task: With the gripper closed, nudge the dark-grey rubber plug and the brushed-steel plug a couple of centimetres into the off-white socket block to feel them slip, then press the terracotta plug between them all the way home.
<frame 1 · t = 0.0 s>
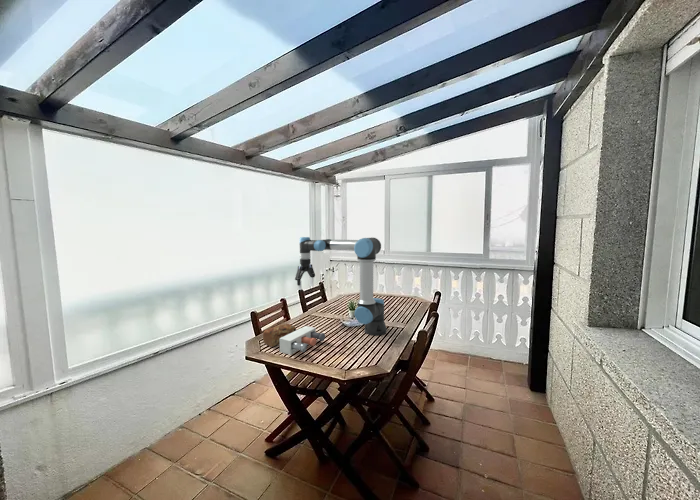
hand: (305, 287, 208), 28 cm above the table, fingers open, 13 cm apart
steel plug: (296, 345, 163), point 4 cm above the table, slide at 0.0 cm
grey plug: (315, 335, 179), point 5 cm above the table, slide at 0.0 cm
socket block: (298, 345, 174), on the table
red plug: (306, 340, 171), point 5 cm above the table, slide at 0.0 cm
bread: (280, 341, 182), on the table
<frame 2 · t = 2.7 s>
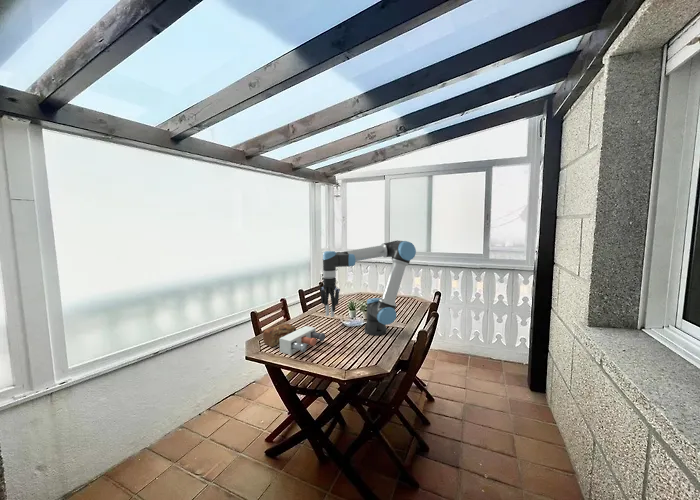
hand: (329, 315, 172), 19 cm above the table, fingers open, 3 cm apart
nothing on the table moved.
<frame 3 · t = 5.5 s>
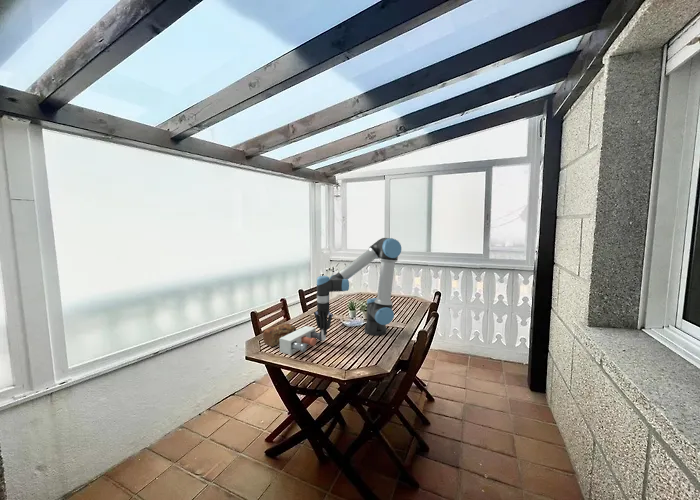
hand: (323, 339, 176), 3 cm above the table, fingers closed
grey plug: (313, 335, 179), point 5 cm above the table, slide at 1.3 cm, touching gripper
everything else where it was.
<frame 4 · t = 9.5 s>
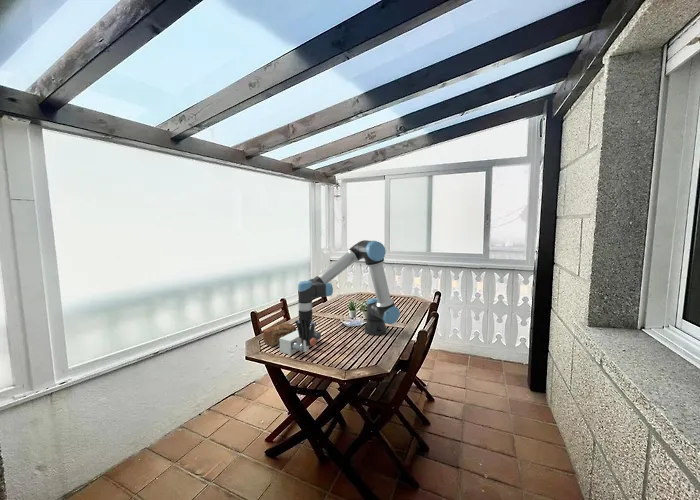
hand: (306, 351, 160), 3 cm above the table, fingers closed
steel plug: (295, 345, 163), point 5 cm above the table, slide at 0.7 cm, touching gripper
grey plug: (311, 334, 180), point 4 cm above the table, slide at 3.1 cm
everything else where it was.
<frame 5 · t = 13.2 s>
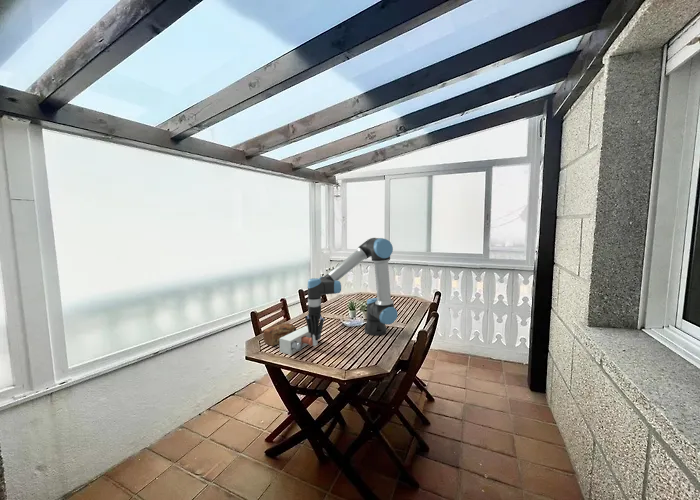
hand: (315, 345, 168), 3 cm above the table, fingers closed
steel plug: (292, 344, 165), point 4 cm above the table, slide at 3.1 cm
red plug: (305, 340, 171), point 5 cm above the table, slide at 1.1 cm, touching gripper
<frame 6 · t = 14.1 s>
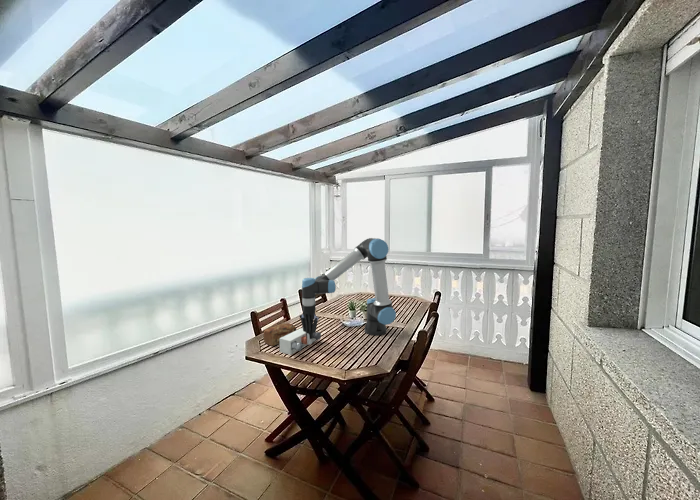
hand: (309, 343, 170), 3 cm above the table, fingers closed
red plug: (299, 338, 173), point 5 cm above the table, slide at 5.1 cm, touching gripper
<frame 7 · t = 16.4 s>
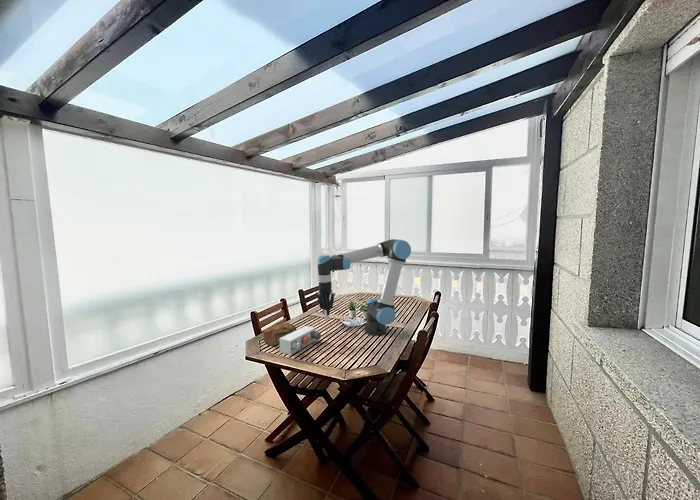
hand: (326, 319, 173), 16 cm above the table, fingers closed
red plug: (299, 338, 173), point 5 cm above the table, slide at 5.0 cm
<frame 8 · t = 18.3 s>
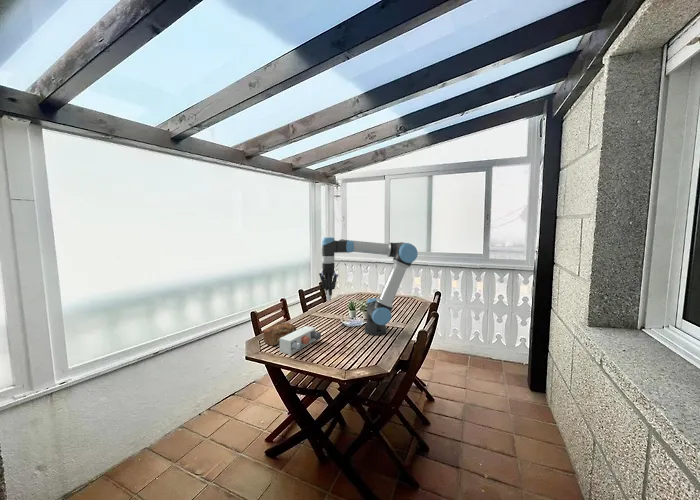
hand: (328, 300, 178), 26 cm above the table, fingers closed
at the end: red plug slide at 5.0 cm; grey plug slide at 3.1 cm; steel plug slide at 3.1 cm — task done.
